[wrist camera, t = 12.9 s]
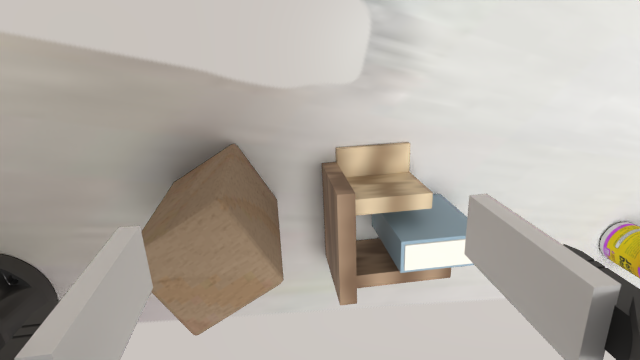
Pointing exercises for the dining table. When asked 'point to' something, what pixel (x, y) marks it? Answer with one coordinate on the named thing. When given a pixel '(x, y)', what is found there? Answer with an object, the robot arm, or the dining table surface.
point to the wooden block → (214, 241)
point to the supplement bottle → (623, 246)
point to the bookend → (382, 178)
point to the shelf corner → (357, 244)
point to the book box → (424, 236)
